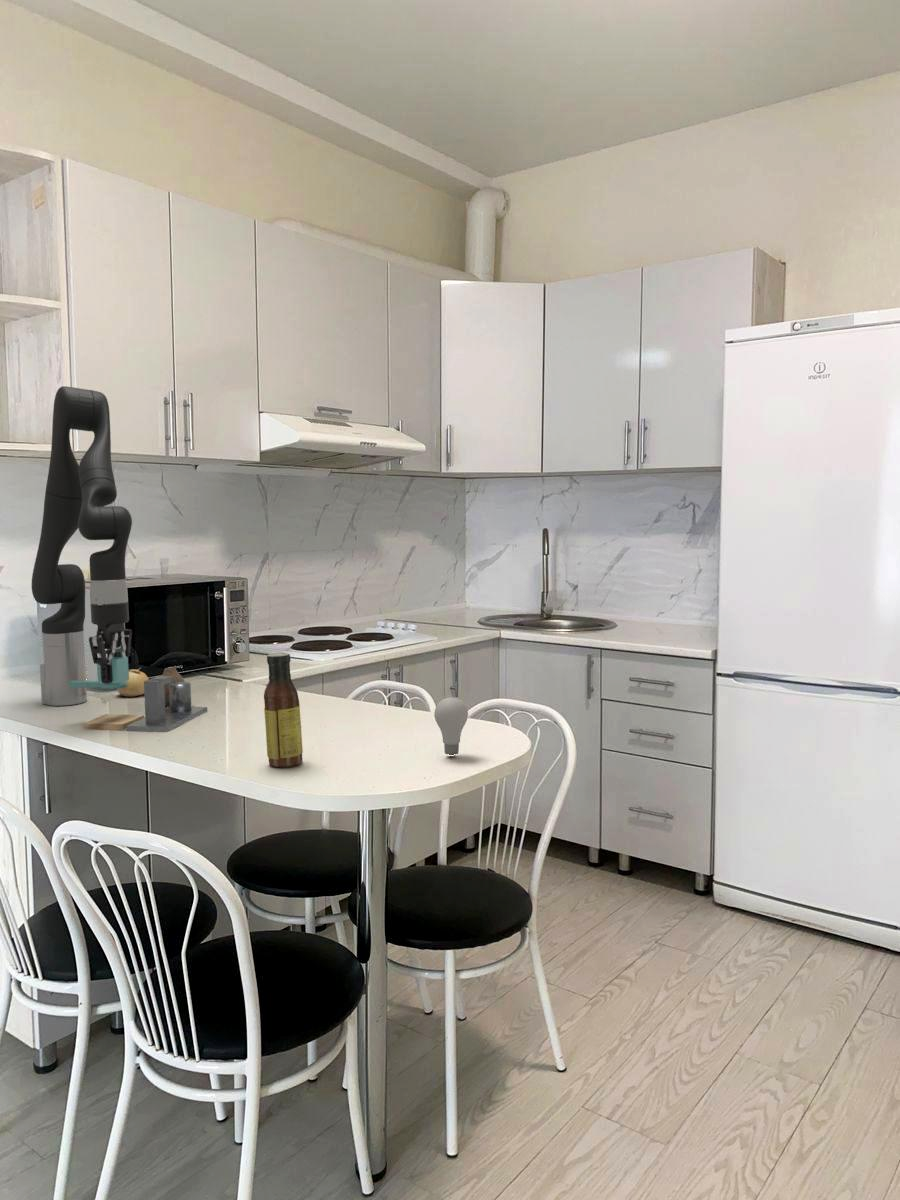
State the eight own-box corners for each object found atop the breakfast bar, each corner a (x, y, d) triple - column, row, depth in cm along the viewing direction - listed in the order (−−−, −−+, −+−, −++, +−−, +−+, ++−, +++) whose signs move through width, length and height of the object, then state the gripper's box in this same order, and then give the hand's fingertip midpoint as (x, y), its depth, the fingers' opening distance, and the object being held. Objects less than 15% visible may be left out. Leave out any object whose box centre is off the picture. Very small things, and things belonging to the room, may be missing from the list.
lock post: (126, 730, 190) (124, 683, 189) (170, 710, 210) (168, 667, 209) (167, 731, 189) (165, 684, 188) (207, 711, 209) (205, 667, 208)
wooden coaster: (83, 728, 192) (83, 723, 192) (105, 719, 201) (105, 714, 201) (123, 730, 191) (123, 724, 191) (144, 720, 200) (143, 715, 200)
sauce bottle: (307, 760, 166) (304, 651, 164) (296, 769, 160) (293, 656, 158) (273, 758, 167) (269, 651, 165) (260, 768, 161) (257, 656, 159)
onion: (111, 699, 224) (110, 670, 224) (122, 692, 232) (121, 665, 232) (144, 698, 225) (143, 670, 224) (154, 692, 233) (153, 664, 232)
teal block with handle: (78, 684, 199) (76, 656, 199) (131, 685, 198) (129, 656, 197) (64, 689, 194) (63, 660, 194) (119, 689, 192) (117, 660, 192)
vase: (181, 707, 213) (180, 670, 212) (152, 708, 213) (150, 670, 212) (190, 701, 220) (189, 665, 219) (162, 702, 220) (160, 666, 219)
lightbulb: (465, 762, 163) (464, 701, 162) (431, 760, 164) (431, 700, 163) (470, 753, 169) (470, 694, 168) (438, 752, 170) (437, 693, 169)
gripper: (110, 598, 201) (114, 674, 203) (74, 604, 187) (78, 686, 189) (142, 597, 200) (145, 675, 202) (108, 604, 186) (112, 686, 188)
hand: (113, 680), depth 195 cm, fingers closed on teal block with handle, 4 cm apart
